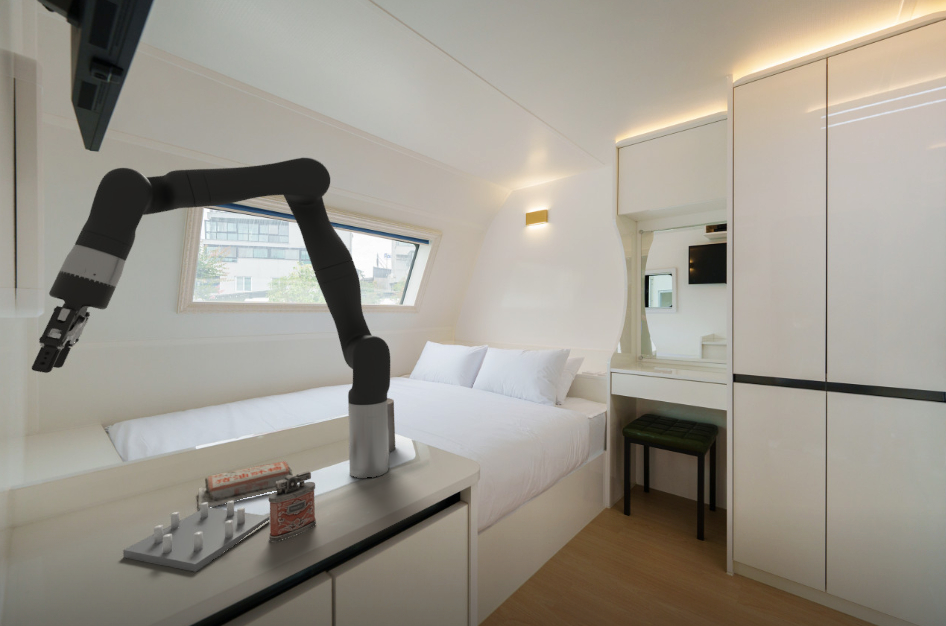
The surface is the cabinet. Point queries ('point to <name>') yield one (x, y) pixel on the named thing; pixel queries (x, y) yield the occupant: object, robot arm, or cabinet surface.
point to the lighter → (292, 506)
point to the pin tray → (195, 537)
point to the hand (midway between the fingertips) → (47, 369)
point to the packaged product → (242, 483)
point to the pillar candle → (391, 423)
